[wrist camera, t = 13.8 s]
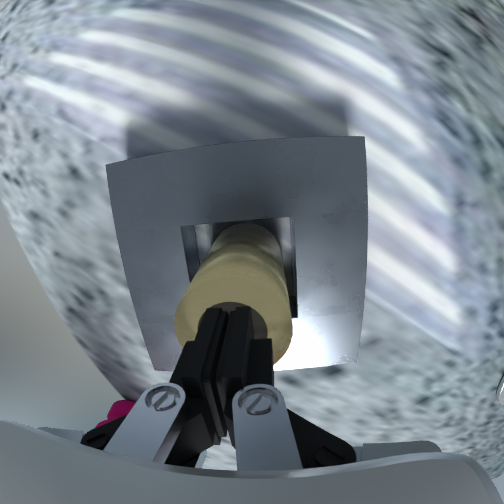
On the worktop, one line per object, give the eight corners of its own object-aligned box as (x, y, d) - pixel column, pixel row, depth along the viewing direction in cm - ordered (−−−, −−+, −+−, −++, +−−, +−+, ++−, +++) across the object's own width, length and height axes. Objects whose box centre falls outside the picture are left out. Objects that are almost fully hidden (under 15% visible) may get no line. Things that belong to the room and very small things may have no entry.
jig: (349, 139, 17) (364, 136, 14) (347, 338, 22) (357, 361, 19) (127, 162, 18) (105, 164, 15) (165, 347, 23) (154, 370, 20)
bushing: (279, 220, 19) (290, 274, 10) (283, 287, 20) (294, 374, 12) (207, 226, 19) (162, 282, 11) (216, 291, 21) (187, 377, 12)
